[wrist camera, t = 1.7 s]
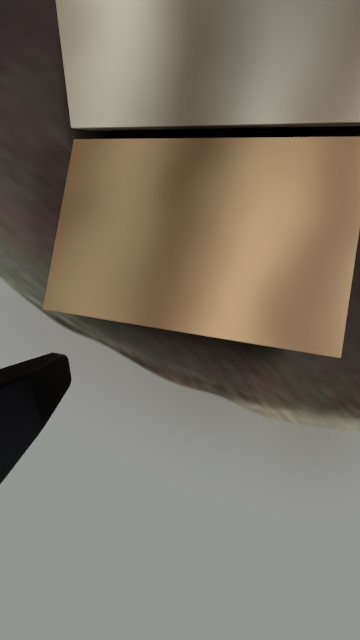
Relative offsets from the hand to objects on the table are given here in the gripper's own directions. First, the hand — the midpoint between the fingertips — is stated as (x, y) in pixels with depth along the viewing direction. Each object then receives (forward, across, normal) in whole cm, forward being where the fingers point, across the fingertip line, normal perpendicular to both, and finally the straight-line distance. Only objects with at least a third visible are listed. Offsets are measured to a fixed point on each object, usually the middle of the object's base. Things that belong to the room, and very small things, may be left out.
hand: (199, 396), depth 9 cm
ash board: (+12, +3, -10) cm, 16 cm away
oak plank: (+10, +3, -1) cm, 10 cm away
